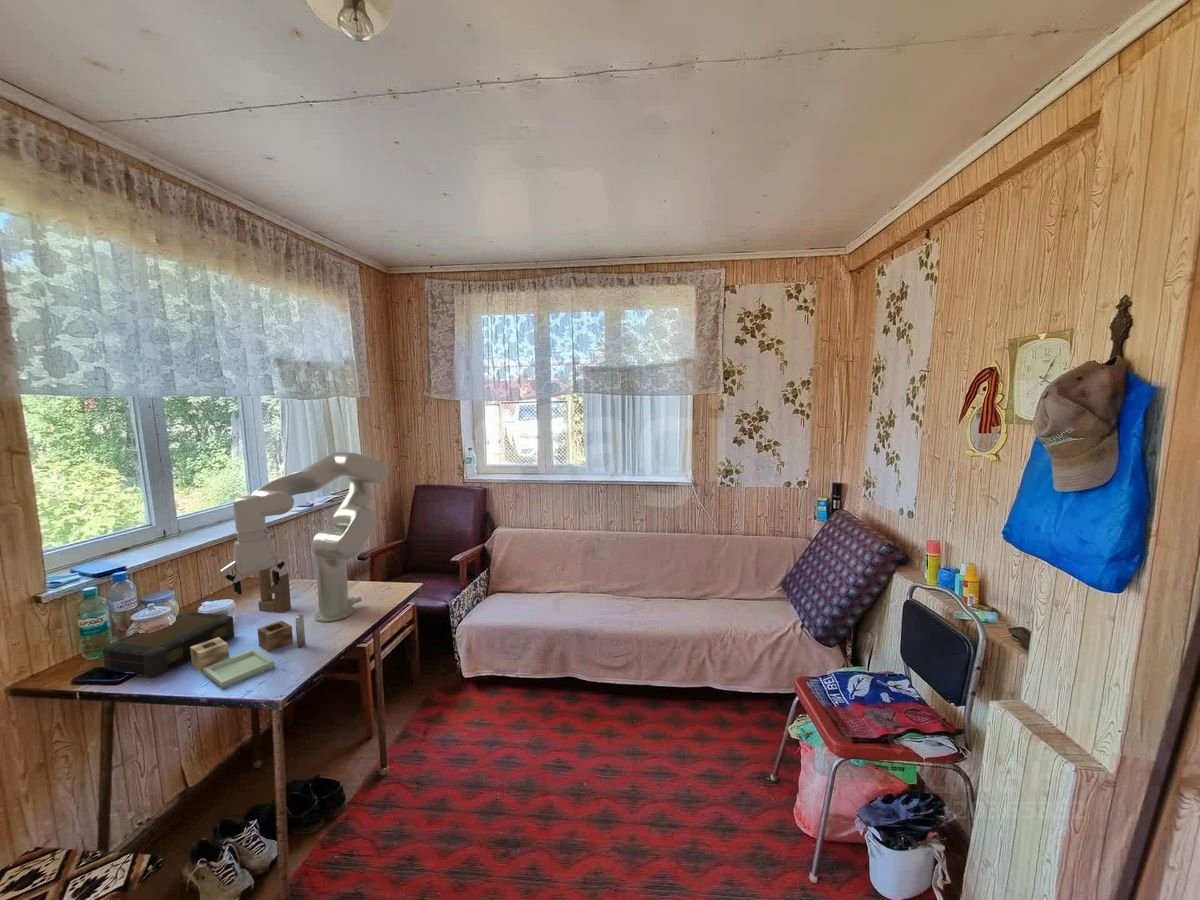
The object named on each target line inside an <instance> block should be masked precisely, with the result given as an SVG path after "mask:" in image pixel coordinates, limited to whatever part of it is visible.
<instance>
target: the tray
mask: <svg viewBox="0 0 1200 900" xmlns="http://www.w3.org/2000/svg"><path fill="white" fill-rule="evenodd" d="M273 667H275V668H276V666H275V660H274V659H272V658H271V657H269V656H267V655H265V654H264V653H262V652H261V651H259V650H257V649H256V648H253V649H249V650H248V651H245V652H243V653H240V654H236V655H235V656H232V657H229V659H226V660H224V661H221V662H218V663H216V664H213V665H210V666H208V667H205V668H203V672H202V673H203V676H204V677H205V678H207V679H208V680H210V681H211V683H213V684H214V685H216V686H217V687H218V688H219V687H220V688H219V689H220V690H224V689H223V688H225V687H227V688H229V687H231V686H230V685H232V686H234V685H236V684H235V683H237V684H239V683H241V682H243V681H242V680H244V679H246V680H248V679H250V678H249V677H251V678H253V677H255V676H254V675H256V674H258V675H260V674H262V673H261V672H263V671H265V672H267V671H269V670H268V669H270V670H272V669H274V668H273ZM271 668H272V669H271ZM266 670H267V671H266ZM259 673H260V674H259ZM263 673H264V672H263ZM252 676H253V677H252ZM256 676H257V675H256ZM247 678H248V679H247ZM240 681H241V682H240ZM244 681H245V680H244ZM238 682H239V683H238ZM233 684H234V685H233ZM228 686H229V687H228ZM225 689H226V688H225Z"/></svg>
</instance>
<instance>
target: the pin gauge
mask: <svg viewBox="0 0 1200 900" xmlns="http://www.w3.org/2000/svg"><path fill="white" fill-rule="evenodd" d="M294 619H295V620H294V621H295V630H296V631H295V632H296V644H297V649H301V648H304V647H306V632H305V622H304V621H305V620H304V619H305V618H304V614H298V615H295V616H294Z"/></svg>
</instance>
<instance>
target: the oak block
mask: <svg viewBox="0 0 1200 900" xmlns="http://www.w3.org/2000/svg"><path fill="white" fill-rule="evenodd" d="M190 651H191V660H190V661H191V667H193V668H194V669H195V670H197V671H198V672H199V673H201V674H202V673H203V668H205V667H208V666H210V665H213V664H216V663H218V662H221V661H224V660H226V659H229V658H230V653H229V652H230V651H229V643H228V641H226V642H225V641H224V640H222V639H220V638H219V637H218V638H215V639H212V640H209V641H206V642H203V643H200V644H197V645H194V646H191V647H190Z"/></svg>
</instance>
